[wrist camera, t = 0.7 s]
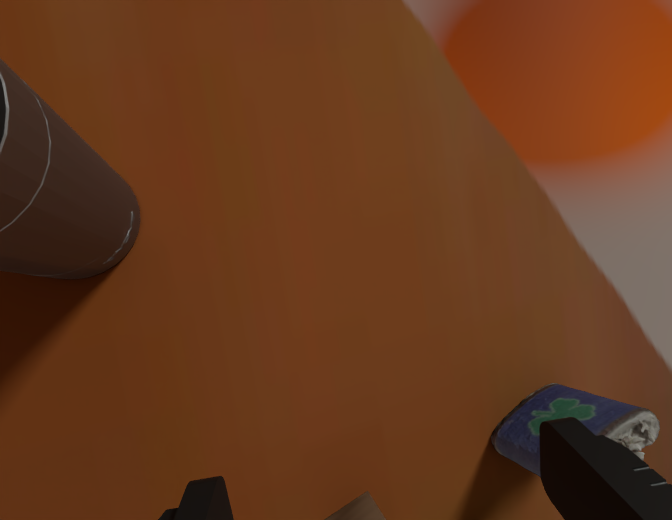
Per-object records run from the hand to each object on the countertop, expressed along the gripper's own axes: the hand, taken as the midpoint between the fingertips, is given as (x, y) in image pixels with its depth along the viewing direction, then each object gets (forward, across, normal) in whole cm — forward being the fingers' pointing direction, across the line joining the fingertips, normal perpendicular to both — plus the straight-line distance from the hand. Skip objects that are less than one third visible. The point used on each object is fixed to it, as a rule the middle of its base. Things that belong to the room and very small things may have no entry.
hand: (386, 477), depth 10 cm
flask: (+23, -16, +17) cm, 32 cm away
